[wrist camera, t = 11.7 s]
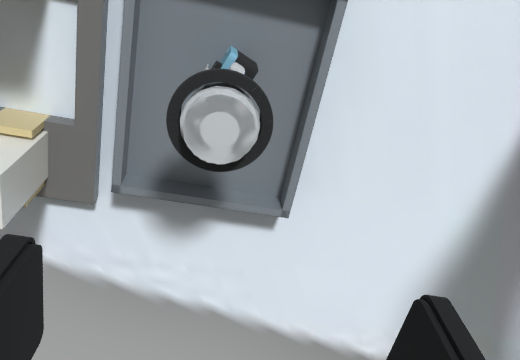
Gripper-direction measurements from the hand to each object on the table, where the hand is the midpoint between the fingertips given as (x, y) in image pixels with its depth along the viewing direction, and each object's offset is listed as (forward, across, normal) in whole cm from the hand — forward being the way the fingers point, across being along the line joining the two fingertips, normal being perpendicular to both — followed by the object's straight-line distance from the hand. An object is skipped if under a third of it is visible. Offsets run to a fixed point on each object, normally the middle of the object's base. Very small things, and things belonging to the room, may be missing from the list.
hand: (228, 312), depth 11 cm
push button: (+22, +1, 0) cm, 22 cm away
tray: (+22, +1, 0) cm, 22 cm away
